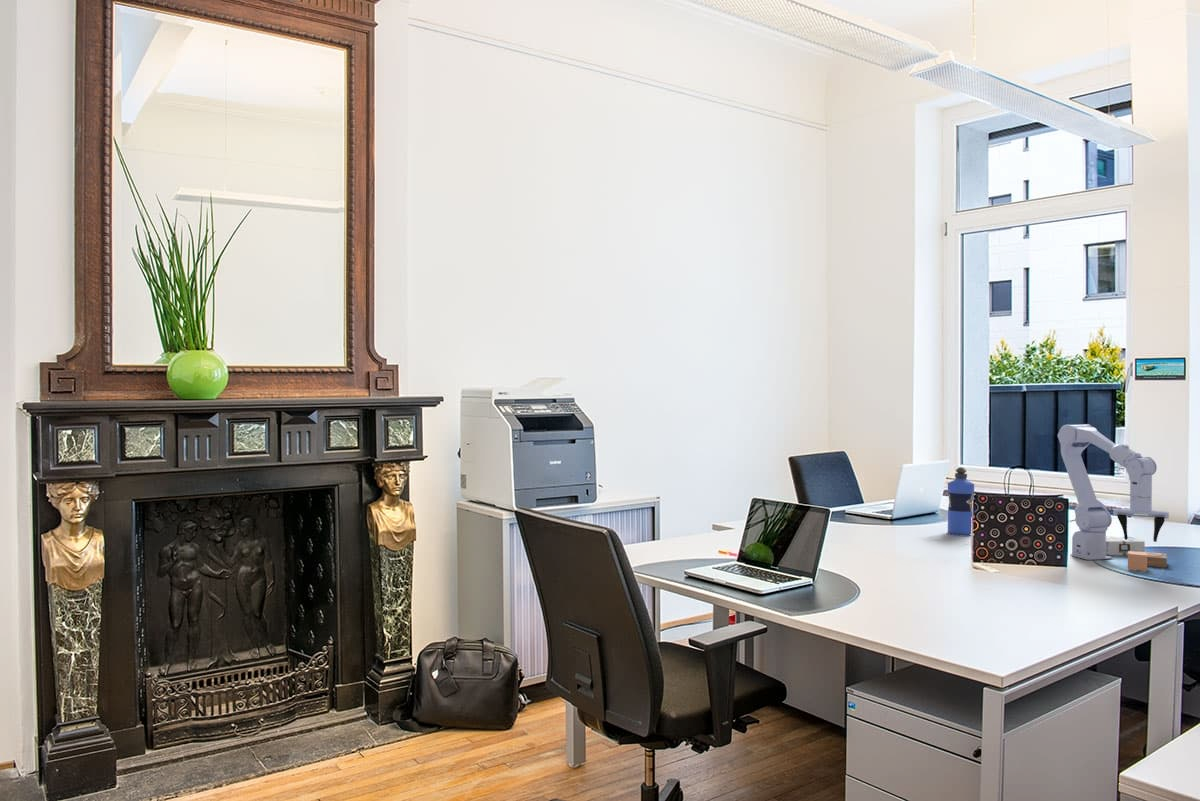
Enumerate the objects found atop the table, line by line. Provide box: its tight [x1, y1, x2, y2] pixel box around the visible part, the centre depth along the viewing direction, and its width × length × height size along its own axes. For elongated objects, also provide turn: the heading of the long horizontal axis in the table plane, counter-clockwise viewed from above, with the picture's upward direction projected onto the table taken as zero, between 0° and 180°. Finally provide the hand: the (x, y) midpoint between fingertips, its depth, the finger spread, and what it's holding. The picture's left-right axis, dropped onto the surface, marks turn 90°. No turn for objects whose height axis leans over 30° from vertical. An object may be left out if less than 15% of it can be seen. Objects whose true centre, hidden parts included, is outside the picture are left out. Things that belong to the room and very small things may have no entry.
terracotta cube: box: [1127, 551, 1148, 572], centre depth 271 cm, size 5×5×5 cm
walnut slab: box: [1137, 551, 1168, 569], centre depth 278 cm, size 8×8×3 cm
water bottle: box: [947, 467, 975, 537], centre depth 333 cm, size 9×9×25 cm
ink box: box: [1106, 536, 1146, 556], centre depth 296 cm, size 9×5×15 cm
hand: (1140, 540), depth 273 cm, fingers open, 7 cm apart
